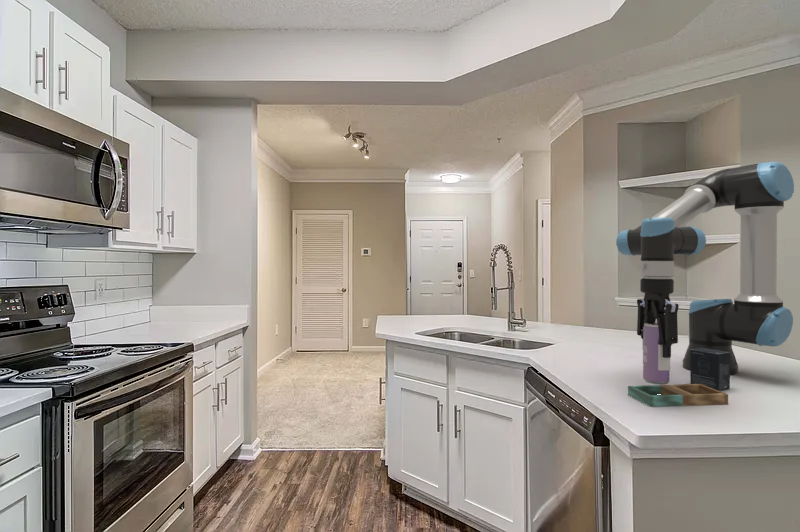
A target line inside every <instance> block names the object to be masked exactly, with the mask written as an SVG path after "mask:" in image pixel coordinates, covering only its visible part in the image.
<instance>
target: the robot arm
mask: <svg viewBox="0 0 800 532" xmlns="http://www.w3.org/2000/svg"><path fill="white" fill-rule="evenodd" d="M794 192H795V184H794V179H793V175H792V173H791V171H790V170H789V169H788V167H787V166H786V164H784V163H783V162H779V161H769V162H759V163H753V164H748V165H743V166H736V167H731V168H724V169H721V170H718V171H715V172H713V173H710V174H709V175H707V176H705V177H703V178H701V179H699V180H697V181H696V182H694V183H693V184H692V185H690V186H689V187H687V188H686V189H685V191H684V193H683V195H682V196H680V197H679V198H677V199H676V200H675V201H673V202H671V203H670V204H669V205H668V206H666V207H665V208H663V209H662V210H661V211H659V212H657V213H656V214H654V215H653V216H651V218H644V219H643V220H642V221H641V224H640V225H639V226H637V227H636V228H634V229H627V230H625V229H624V230H622V231H621V232H619V233H618V235H617V236H616V240H615V242H616V243H615V244H616V247H617V251H618V252H619V253H621V254H622V255H625V256H633V257H635V256H640V267H639V268H640V276H641V277H642V278H640V283H639V284H640V285H639V286H640V288H639V289H640V290H639V291H640V292H641V293H644V297H643V298H642V299H641V298H638V299H637V300H636V305H637V321H636V323H637V325H636V335H637V336H640V338H641V339H642V340H643V327H644V323H648V324H649V323H657V324H658V328H659V336H660V342H659V343H658V370H670V371H671V357H672V345H674V344H678V342H679V338H678V336H679V333H678V332H679V331H678V312H679V307H680V306H679V303H673V302H671V298H670V294H673V293H674V286H675V285H674V284H675V280H674V279H672V277H675V261H674V260H675V259H674V258H675V256H692V255H697V254H699V253H700V252H702V251H703V250H704V248H705V247H706V243H707V237H706V235H705V233H704V232H703V230H701V229H700V228H697V227H692V226H686V225H687V224H688V223H689V222H691V221H692V220H694V219H695V218H696V217H699V215H701V214H705V213H708V212H710V211H711V210H712V209H716V208H720V207H729V206H731V207H732V206H734V211H735V212H736V213H737V214H738V215H739V216H740V256H739V257H740V265H739V266H740V267H739V268H740V270H739V272H740V273H739V276H740V277H739V278H740V282H739V284H740V285H739V286H740V287H739V289H740V290H739V294H738V295H737V296H735V298H733V300H732V299H731V298H718V299H717V298H716V299H715V298H714V299H697V300H696V299H695V300H693V301H692V302H690V303H689V309H688V329H689V330H688V339H689V341H688V346H687V349H686V351H685V354H684V357H683V359H682V367H683V368H685V369H687V370H689V371H690V350H691V349H695V348H707V349H714V350H720V351H726V352H730V375H736V374H738V373H739V364H738V361H737V359H736V356H735V353H734V350H733V347H732V346H733V345H732V344H733V343H732V342H738V343H743V344H744V343H746V344H753V345H758V346H759V347H762V346H766V347H778V346H780V345H783V344H784V342H786V340H788V338H789V336H790V334H791V333H792V329H793V325H794V316H793V313H792V311H791V310H790V309H789V308H786V307H784V300H783V299H781V297H779V296H778V295H777V278H778V277H777V269H778V268H777V263H778V262H777V259H778V258H777V257H778V254H777V249H778V248H777V247H778V245H777V244H778V243H777V242H778V241H777V240H778V234H777V232H778V228H777V227H778V213H779V212H781V210H783V209H784V207H785V206H784V205H785V202H788V201H789V200H791V198H792V197H793V194H794Z"/></svg>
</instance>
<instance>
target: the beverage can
mask: <svg viewBox="0 0 800 532" xmlns="http://www.w3.org/2000/svg"><path fill="white" fill-rule="evenodd" d="M659 342H660V336H659V328H658V324H657V322H655V323H649V324H648V323H644V327H643V339H642V379H643V380H644V381H645V382H647V383H649V384H651V385H652V384H653V385H668V384H669V382H670V371H671V369H670V370H658V343H659Z"/></svg>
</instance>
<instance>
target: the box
mask: <svg viewBox="0 0 800 532" xmlns="http://www.w3.org/2000/svg"><path fill="white" fill-rule="evenodd" d="M689 371H690V372H689V373H690V377H689V378H690V383H689V384H702V385H705V386H707V387H710V388H713V389H715V390H718V391H721V392H723V391H727V390H730V388H731V385H730V384H731V377H730V376H731V374H730V352H726V351H720V350H714V349H707V348H695V349H691V350H690V370H689Z"/></svg>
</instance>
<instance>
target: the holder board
mask: <svg viewBox="0 0 800 532" xmlns="http://www.w3.org/2000/svg"><path fill="white" fill-rule="evenodd" d="M657 394H661V395H657ZM629 395H630V396H629ZM627 396H629V397H631V396H632V397H633V398H632V397H631V398H632V399H634V398H635V400H636V399H637V401H638V400H639V401H638V402H640V401H641V402H640V403H642V402H643V403H642V404H644V403H645V404H644V405H646V404H647V405H649V406H658V407H681V406H682V407H684V406H685V407H687V406H715V405H716V406H718V405H729V394H728V393H725V392H723V391H718V390H715V389H713V388H710V387H707V386H705V385H702V384H690V383H686V384H685V383H684V384H681V383H679V384H653V385H652V384H651V385H650V384H648V385H647V384H646V385H628V386H627ZM647 405H646V406H647ZM649 406H648V407H649Z"/></svg>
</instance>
